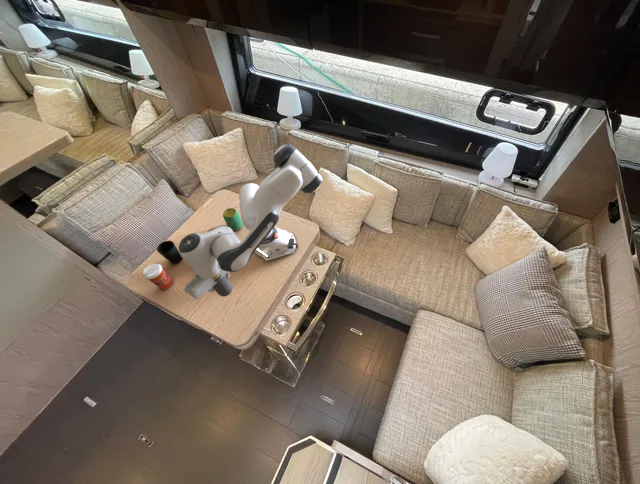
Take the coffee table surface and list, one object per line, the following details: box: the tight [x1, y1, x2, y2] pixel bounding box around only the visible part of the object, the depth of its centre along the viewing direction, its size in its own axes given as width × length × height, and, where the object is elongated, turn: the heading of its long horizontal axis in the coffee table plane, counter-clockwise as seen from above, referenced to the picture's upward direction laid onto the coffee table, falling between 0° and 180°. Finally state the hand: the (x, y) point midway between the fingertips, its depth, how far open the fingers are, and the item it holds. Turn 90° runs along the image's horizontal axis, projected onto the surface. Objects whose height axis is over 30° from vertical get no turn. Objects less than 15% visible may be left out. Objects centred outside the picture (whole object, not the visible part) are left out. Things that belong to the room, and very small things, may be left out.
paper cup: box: [142, 263, 173, 290], centre depth 131 cm, size 8×8×14 cm
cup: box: [156, 240, 183, 265], centre depth 141 cm, size 8×8×12 cm
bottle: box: [212, 273, 233, 297], centre depth 111 cm, size 6×6×15 cm
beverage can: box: [222, 207, 244, 232], centre depth 157 cm, size 8×8×12 cm
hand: (220, 283), depth 112 cm, fingers closed on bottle, 6 cm apart
